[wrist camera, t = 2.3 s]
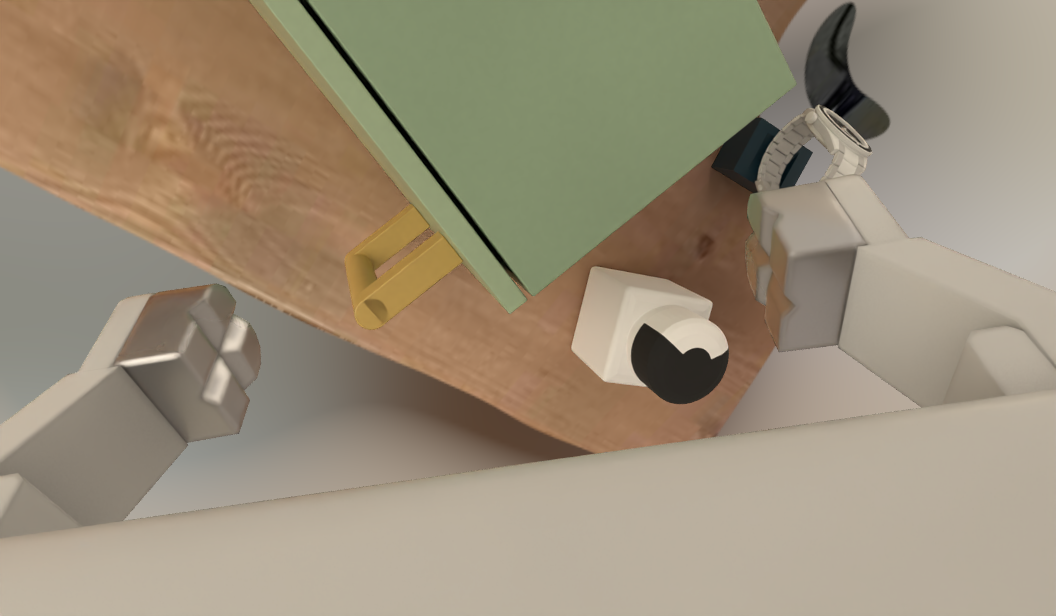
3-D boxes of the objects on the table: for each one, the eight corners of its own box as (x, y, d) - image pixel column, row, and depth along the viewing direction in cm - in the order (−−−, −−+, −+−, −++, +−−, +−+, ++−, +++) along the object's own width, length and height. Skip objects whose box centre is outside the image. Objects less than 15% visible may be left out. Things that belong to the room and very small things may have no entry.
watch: (799, 128, 56) (906, 133, 46) (750, 217, 57) (844, 241, 47) (749, 93, 54) (849, 90, 44) (699, 186, 55) (786, 205, 45)
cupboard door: (367, 280, 49) (404, 400, 29) (124, 2, 41) (-57, -95, 21) (442, 221, 50) (528, 300, 30) (217, -67, 41) (125, -227, 21)
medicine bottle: (646, 360, 58) (724, 420, 47) (568, 350, 56) (632, 410, 45) (669, 278, 56) (755, 321, 45) (590, 264, 54) (661, 305, 43)
